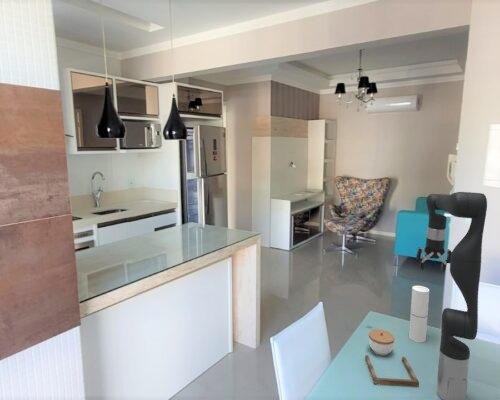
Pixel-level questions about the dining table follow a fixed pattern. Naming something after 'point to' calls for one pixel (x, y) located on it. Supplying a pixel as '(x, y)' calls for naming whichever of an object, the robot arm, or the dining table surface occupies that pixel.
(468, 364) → the robot arm
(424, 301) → the cylindrical container
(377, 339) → the lidded jar
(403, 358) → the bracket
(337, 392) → the dining table surface
